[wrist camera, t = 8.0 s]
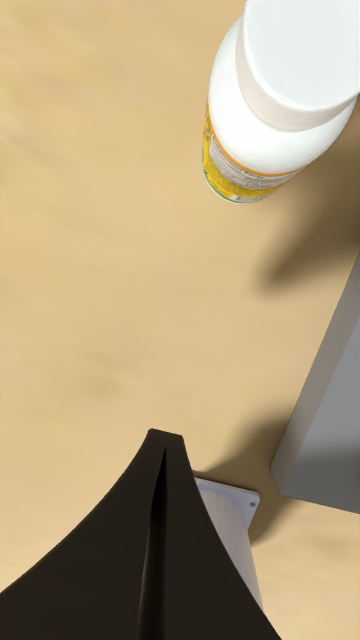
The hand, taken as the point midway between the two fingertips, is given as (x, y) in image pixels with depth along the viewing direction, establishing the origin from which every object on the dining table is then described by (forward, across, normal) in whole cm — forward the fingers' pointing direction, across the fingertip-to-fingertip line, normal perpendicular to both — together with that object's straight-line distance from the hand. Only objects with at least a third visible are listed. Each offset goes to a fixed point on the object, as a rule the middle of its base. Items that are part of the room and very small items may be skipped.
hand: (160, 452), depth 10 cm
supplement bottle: (+10, -1, -14) cm, 17 cm away
